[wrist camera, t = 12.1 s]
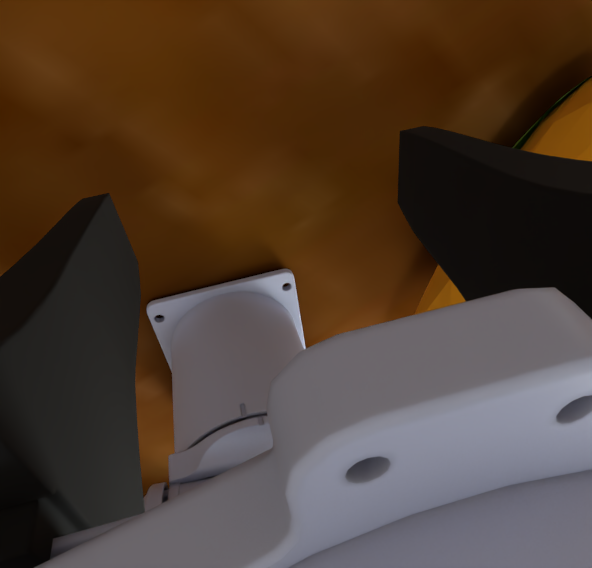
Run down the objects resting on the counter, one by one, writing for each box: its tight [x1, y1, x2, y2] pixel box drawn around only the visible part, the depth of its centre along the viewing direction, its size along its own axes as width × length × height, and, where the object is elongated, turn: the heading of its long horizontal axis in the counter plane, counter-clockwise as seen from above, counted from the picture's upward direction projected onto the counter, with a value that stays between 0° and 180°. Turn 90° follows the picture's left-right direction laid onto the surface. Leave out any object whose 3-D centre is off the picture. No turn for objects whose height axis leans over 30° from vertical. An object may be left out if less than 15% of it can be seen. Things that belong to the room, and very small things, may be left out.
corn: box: [414, 76, 592, 315], centre depth 24 cm, size 7×8×20 cm
